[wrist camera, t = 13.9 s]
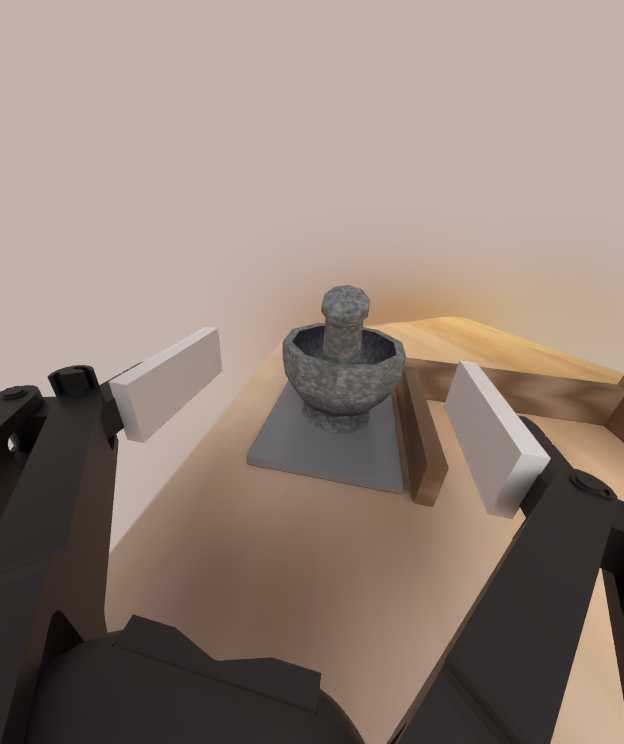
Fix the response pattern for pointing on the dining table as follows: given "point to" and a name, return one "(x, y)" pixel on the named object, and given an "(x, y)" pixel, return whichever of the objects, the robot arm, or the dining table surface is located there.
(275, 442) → the slate pad
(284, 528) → the dining table surface
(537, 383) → the brown piece
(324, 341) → the mortar and pestle
